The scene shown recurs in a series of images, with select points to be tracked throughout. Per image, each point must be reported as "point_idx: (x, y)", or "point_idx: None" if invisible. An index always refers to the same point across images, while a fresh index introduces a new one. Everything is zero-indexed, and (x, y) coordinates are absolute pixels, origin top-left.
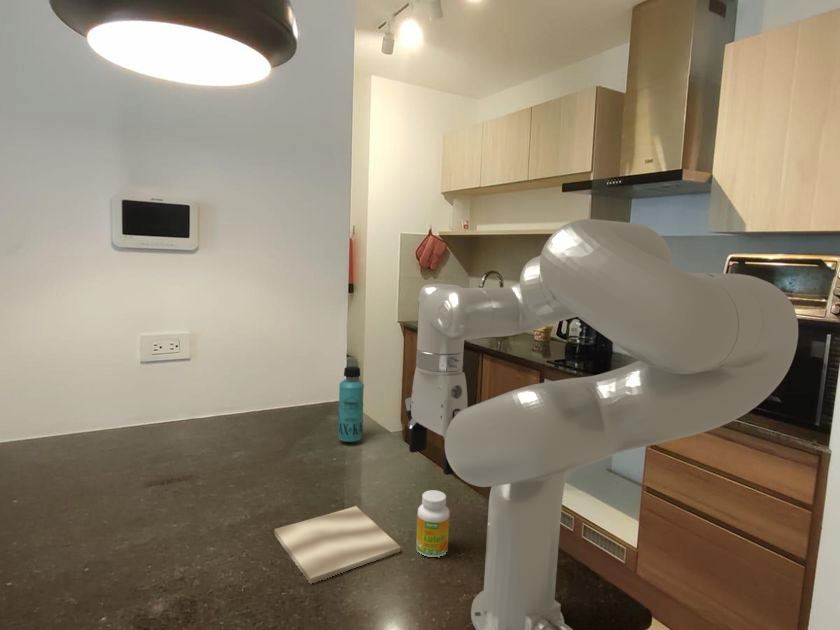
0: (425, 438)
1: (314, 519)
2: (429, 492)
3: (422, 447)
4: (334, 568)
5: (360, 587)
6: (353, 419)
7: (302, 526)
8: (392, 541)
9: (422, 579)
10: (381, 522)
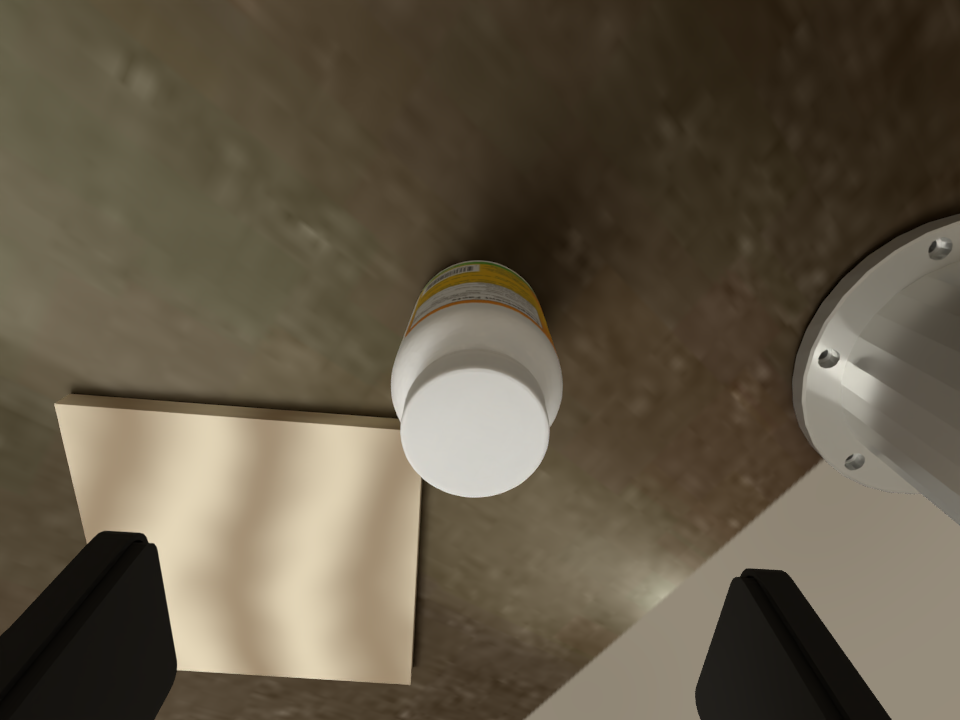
0: (67, 673)
1: None
2: (425, 434)
3: (141, 599)
4: (406, 630)
5: (499, 591)
6: None
7: None
8: (374, 434)
9: (588, 449)
10: (200, 360)
